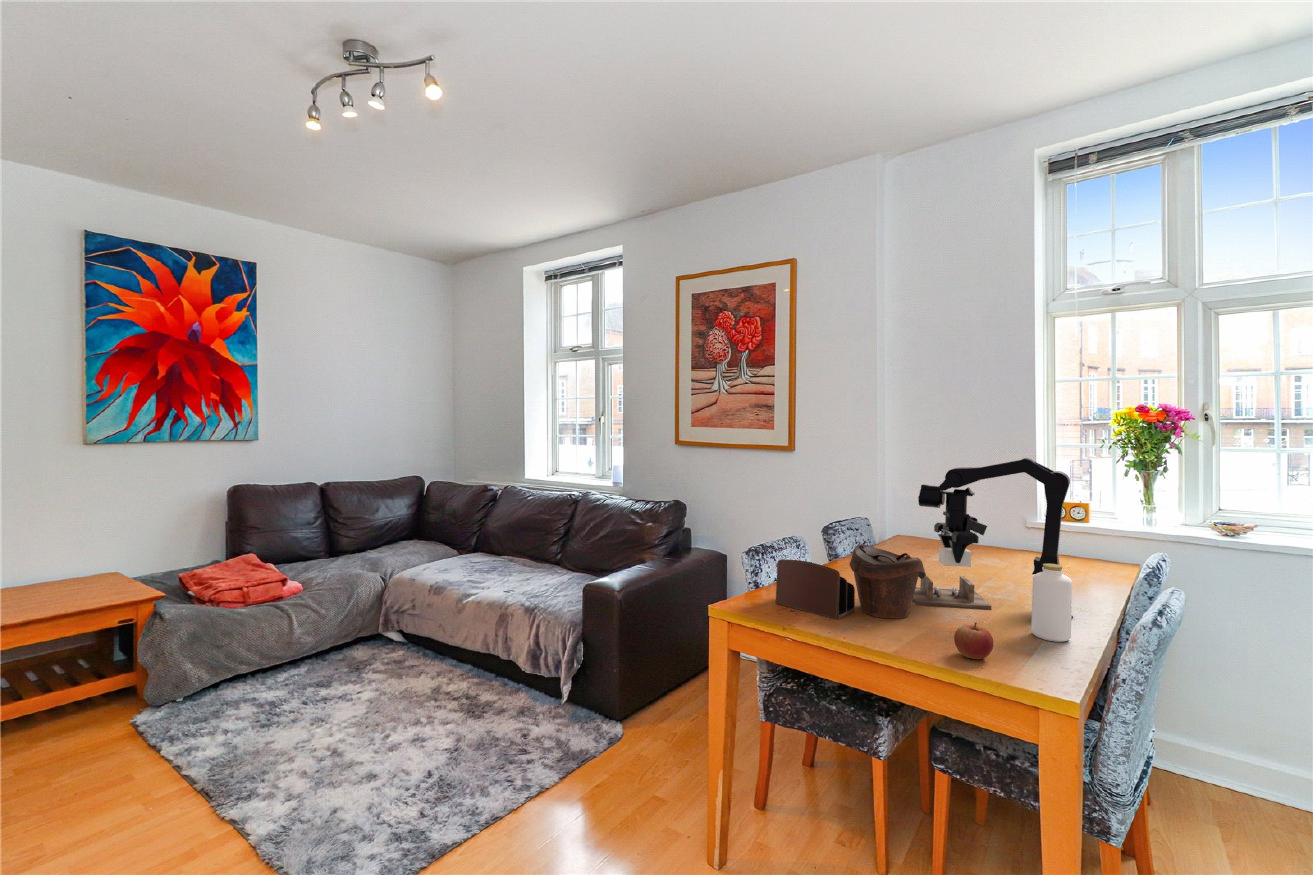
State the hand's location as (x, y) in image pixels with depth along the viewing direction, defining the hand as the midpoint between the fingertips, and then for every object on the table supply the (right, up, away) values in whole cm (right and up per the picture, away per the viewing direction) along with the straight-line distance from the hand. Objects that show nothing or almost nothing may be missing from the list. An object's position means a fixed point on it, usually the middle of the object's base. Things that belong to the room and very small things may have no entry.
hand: (954, 560), depth 185 cm
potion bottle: (+8, -13, -33) cm, 36 cm away
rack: (-3, -11, -1) cm, 12 cm away
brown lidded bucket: (-26, -12, -14) cm, 32 cm away
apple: (-18, -13, -46) cm, 51 cm away
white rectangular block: (0, -1, 0) cm, 1 cm away
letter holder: (-45, -12, -10) cm, 48 cm away
